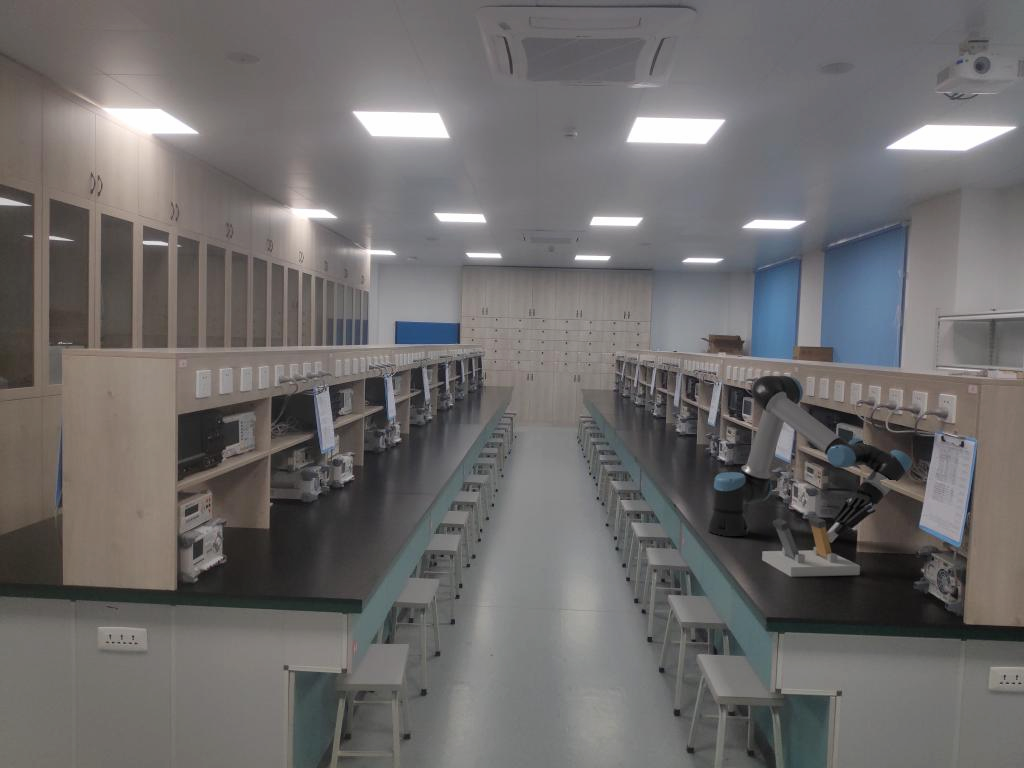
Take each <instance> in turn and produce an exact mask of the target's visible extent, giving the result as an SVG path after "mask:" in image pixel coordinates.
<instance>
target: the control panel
mask: <svg viewBox="0 0 1024 768" xmlns="http://www.w3.org/2000/svg"><path fill="white" fill-rule="evenodd" d="M798 552H799V554H795V559H793V558H792V557H790V556H788V555H786V553H785V550H784V548H783V546H782V550H768V551H767V550H766V551H765V550H764V551H763V550H762V553H761V554H762V555H761V560H762V561H763V562H765V563H767V564H769V565H770V566H772V567H774V568H775V569H776V570H779V571H781V572H782V573H784V574H785V575H787V576H789V577H790V578H791V577H792V578H793V577H829V576H831V577H832V576H833V577H834V576H835V577H836V576H860V575H861V574H860V573H861V565H859V564H857V563H855V562H853V561H851V560H849V559H847V558H845V557H842V556H840V555H838V554H837V553H836V552H835V553H834V552H832V553H827V558H825V557H823V556H821V555H819V554H818V553H817V548H816V546H813V549H812V550H810V549H809V550H798Z"/></svg>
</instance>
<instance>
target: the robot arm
mask: <svg viewBox="0 0 1024 768" xmlns="http://www.w3.org/2000/svg"><path fill="white" fill-rule="evenodd" d="M751 387H752V388H751V396H752V398H753V400H754V402H755V403H756V404H757V405H758V406H759V407H760V408H761V409H762V413H761V417H760V421H759V423H758V427H757V429H756V431H755V436H754V439H753V443H752V446H751V449H750V451H749V455H748V459H747V462H746V464H744V465H742V466H741V468H740V471H739V472H736V471H730V472H729V471H728V472H727V471H726V472H720V473H718V474H717V475H716V476H715V477H714V482H713V507H712V511H713V512H712V514H711V516H710V518H709V521H708V525H707V531H708V530H709V531H710V532H712V533H714V534H713V535H715V534H718V535H717V536H720V535H723V536H722V537H725V536H744V537H746V536H745V535H747V534H748V535H749V529H748V524H747V522H746V518H745V517H746V516H745V505H749V504H758V503H761V502H764V501H766V500H767V499H769V498H770V496H771V494H772V492H773V484H772V480H771V477H772V476H771V473H770V471H769V470H770V467H771V464H772V461H773V457H774V454H775V452H776V448H777V445H778V442H779V438H780V436H781V432H782V429H783V426H784V423H785V424H786V425H788V426H789V427H791V428H792V430H794V431H795V432H797V433H798V434H799V435H801V436H802V437H803V438H804V439H806V441H808V442H809V443H811V444H812V445H813V446H814V447H816V448H817V449H818V450H819V451H821V452H822V453H823V454H825V455H826V458H827V460H828V462H829V463H830V465H831V466H833V467H835V468H841V469H842V468H843V469H845V468H851V467H857V466H859V467H860V466H864V465H866V466H867V467H866V466H865V467H866V468H868V467H869V468H868V469H870V470H872V472H871V473H870V474H869V475H868V476H867V477H866V478H865V479H864V481H863V482H862V483H861V484H860V485H859V486H858V487H857V488H856V491H857V492H856V494H854V495H853V496H852V497H850V498H848V497H844V498H843V500H842V503H841V505H840V506H839V508H838V510H837V511H836V513H835V515H834V516H833V518H832V520H833V521H834V523H833V525H831V527H830V528H829V529H828V531H827V535H828V539H829V543H831V544H832V543H833V542H834V541H835V539H837V537H838V536H839V535H841V534H842V533H843V532H844V531H845V529H854V527H856V526H857V525H858V524H860V523H861V522H862V521H863V520H865V519H866V518H867V517H868V516H869V515H871V514H874V513H875V512H876V509H875V508H874V507H873V506H874V505H878V504H879V503H880V502H881V501H882V499H884V496H886V495H887V494H888V493H889V492H890V490H891V489H890V488H888V487H886V486H884V485H882V484H881V482H880V480H884V479H887V478H888V479H889V480H896V481H898V480H899V481H900V480H901V479H902V478H903V477H904V475H906V474H907V472H908V471H909V470H910V469H911V467H912V465H913V460H912V458H910V456H909V455H908V454H906V452H903V450H902V451H901V450H898V449H892V450H891V451H890V452H887V451H884V450H883V449H881V448H879V447H877V446H875V445H873V446H871V445H872V444H871V445H867V444H864V443H863V439H861V438H859V437H854V438H852V439H851V440H849V441H848V442H847V441H845V440H844V439H843V438H842V437H841V436H839V435H837V434H836V433H835V432H834V431H833V430H831V429H830V428H828V427H827V426H826V425H824V424H823V423H822V422H820V421H819V420H818V419H816V418H815V417H813V415H811V414H810V413H808V412H807V411H805V409H803V408H802V407H801V406H799V405H798V404H799V403H800V402H801V401H802V399H803V395H804V390H803V386H802V385H801V383H800V382H799V380H798V379H797V378H794V377H793V376H787V375H764V376H761V377H759V378H758V379H757V380H755V382H753V385H752V386H751ZM874 446H875V447H874ZM899 481H898V482H899ZM709 531H708V532H709ZM710 532H709V533H710ZM712 533H711V534H712ZM748 535H747V536H748Z"/></svg>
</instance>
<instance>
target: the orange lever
mask: <svg viewBox="0 0 1024 768" xmlns="http://www.w3.org/2000/svg"><path fill="white" fill-rule="evenodd" d="M808 522H809V526H811V530H812V535H813V539H814V544H815V547H816V548H817V553H818V554H819V555H821V556H823V557H825V558H827V553H833V552H832V549H831V544H830V543H831V542H829V539H828V535H827V532H828V531H827V522H826V520H825V519H822V518H821V517H818V516H813V517H810V518H808Z"/></svg>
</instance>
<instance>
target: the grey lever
mask: <svg viewBox="0 0 1024 768" xmlns="http://www.w3.org/2000/svg"><path fill="white" fill-rule="evenodd" d="M772 525H773V527H774V528H775V530H776V533H777V535H778V538H779V540H780V543H781V544H782V547H783V548H784V550H785V553H786V555H788V556H790V557H792V558H793V559H795V554H799V552H798V551H799V549H798V548H797V547H798V546H797V545H796V542H795V540H794V538H793V534H792V532H791V530H790V528H791V527H790V524H789V522H788V521H786V520H784V519H781V518H779V517H778V518H776V519H775V520H773V521H772Z"/></svg>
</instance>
